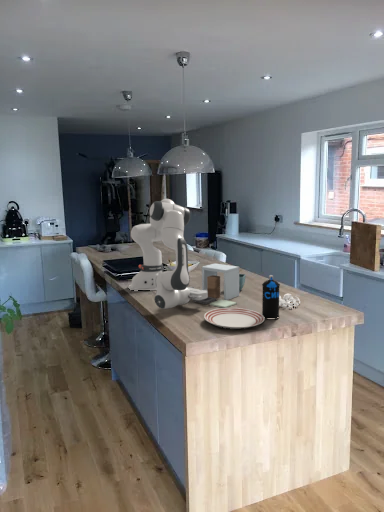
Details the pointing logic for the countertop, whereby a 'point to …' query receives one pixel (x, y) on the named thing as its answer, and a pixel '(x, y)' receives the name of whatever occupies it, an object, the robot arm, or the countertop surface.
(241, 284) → the flower pot
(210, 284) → the walnut block
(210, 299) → the trap pit
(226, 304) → the tile
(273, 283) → the aerosol can
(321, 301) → the countertop surface
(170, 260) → the countertop surface
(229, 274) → the tunnel
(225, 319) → the dinner plate
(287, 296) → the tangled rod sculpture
